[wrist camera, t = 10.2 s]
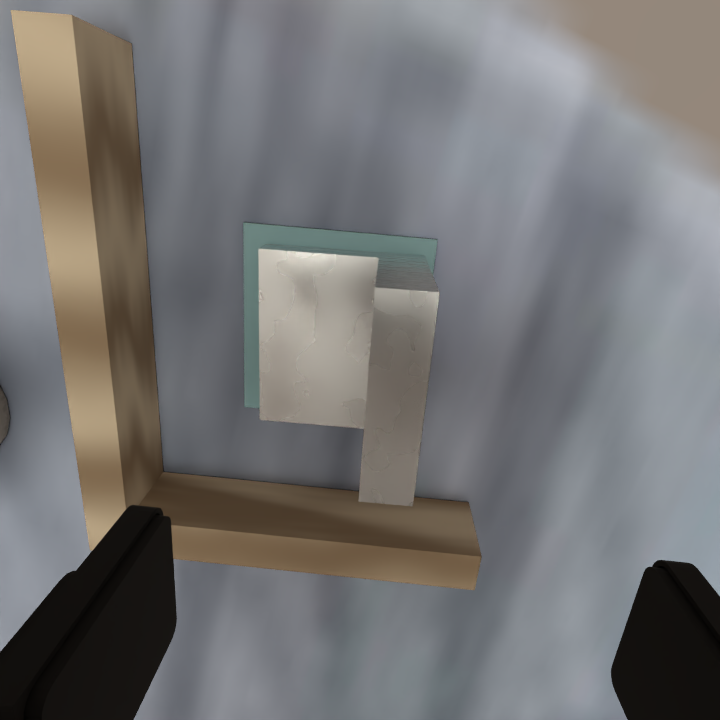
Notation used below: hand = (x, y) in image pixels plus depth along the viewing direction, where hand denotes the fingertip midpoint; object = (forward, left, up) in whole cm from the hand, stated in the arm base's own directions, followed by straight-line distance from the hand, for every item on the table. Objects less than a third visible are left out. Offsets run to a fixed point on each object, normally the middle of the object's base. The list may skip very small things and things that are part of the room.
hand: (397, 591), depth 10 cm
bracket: (0, +2, -15) cm, 15 cm away
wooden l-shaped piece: (+1, +4, -15) cm, 15 cm away
